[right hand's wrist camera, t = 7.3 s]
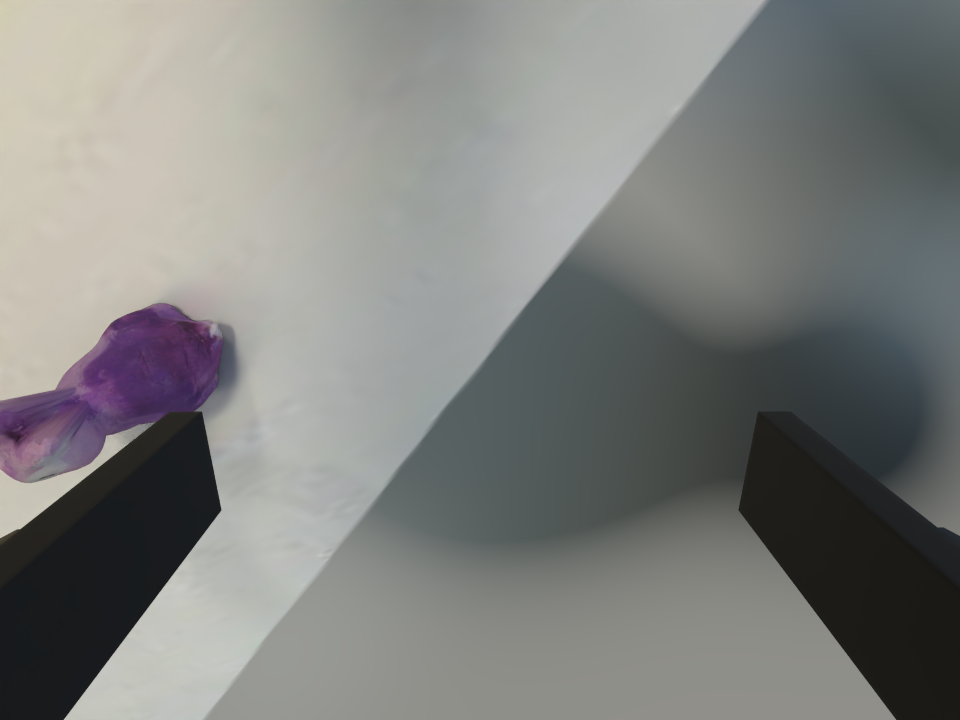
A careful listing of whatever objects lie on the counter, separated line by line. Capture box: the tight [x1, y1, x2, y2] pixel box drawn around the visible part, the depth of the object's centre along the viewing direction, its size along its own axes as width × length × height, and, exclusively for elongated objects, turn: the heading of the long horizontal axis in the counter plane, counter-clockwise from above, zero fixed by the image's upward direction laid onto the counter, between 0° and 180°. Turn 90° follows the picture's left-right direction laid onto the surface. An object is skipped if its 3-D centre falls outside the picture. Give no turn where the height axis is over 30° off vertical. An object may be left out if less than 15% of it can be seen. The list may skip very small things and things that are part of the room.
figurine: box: [0, 303, 223, 483], centre depth 35 cm, size 9×10×15 cm
